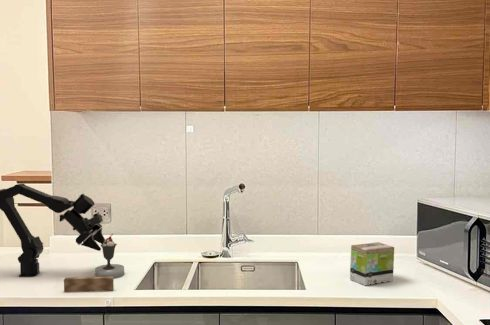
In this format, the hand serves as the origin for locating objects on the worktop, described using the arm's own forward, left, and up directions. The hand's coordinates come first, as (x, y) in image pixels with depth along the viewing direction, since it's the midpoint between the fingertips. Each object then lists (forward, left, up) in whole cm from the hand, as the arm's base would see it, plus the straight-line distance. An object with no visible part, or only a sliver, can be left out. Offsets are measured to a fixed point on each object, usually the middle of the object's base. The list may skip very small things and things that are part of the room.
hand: (103, 247), depth 202 cm
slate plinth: (+3, 0, -12) cm, 12 cm away
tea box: (+112, -16, -12) cm, 113 cm away
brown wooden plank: (-1, -20, -12) cm, 23 cm away
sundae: (+2, 0, -9) cm, 9 cm away
